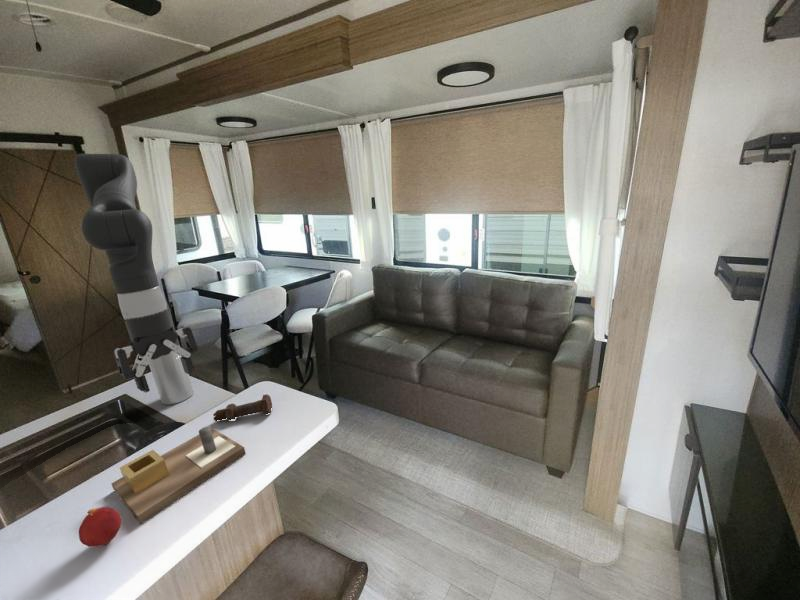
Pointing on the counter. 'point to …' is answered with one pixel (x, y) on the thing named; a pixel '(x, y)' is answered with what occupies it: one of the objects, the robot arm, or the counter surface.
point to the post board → (182, 472)
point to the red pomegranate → (99, 526)
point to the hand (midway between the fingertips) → (168, 381)
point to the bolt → (244, 409)
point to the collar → (144, 471)
